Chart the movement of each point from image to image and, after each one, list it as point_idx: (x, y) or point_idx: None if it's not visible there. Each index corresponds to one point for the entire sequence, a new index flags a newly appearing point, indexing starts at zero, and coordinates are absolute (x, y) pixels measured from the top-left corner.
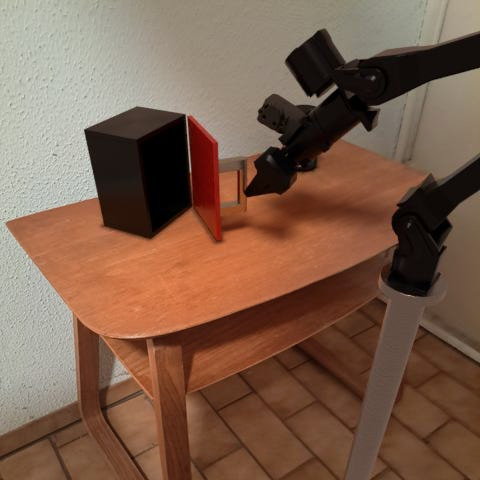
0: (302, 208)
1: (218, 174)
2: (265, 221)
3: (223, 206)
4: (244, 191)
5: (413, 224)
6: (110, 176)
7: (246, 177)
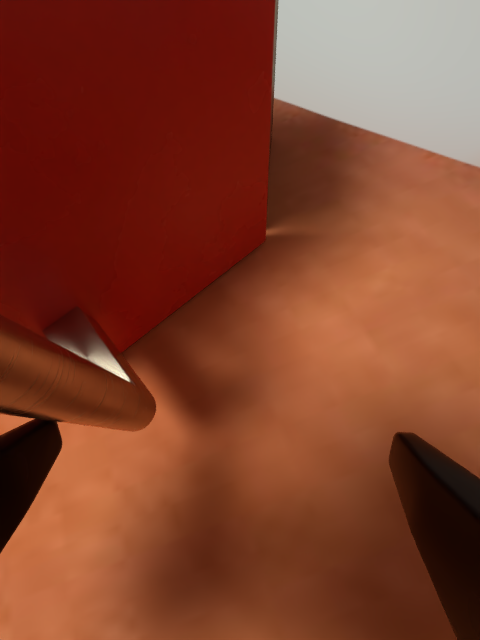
0: (444, 622)
1: None
2: (256, 479)
3: (60, 343)
4: (25, 425)
5: None
6: None
7: (10, 414)
